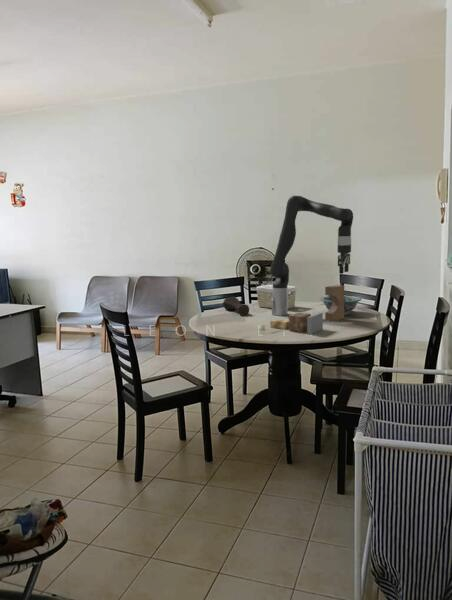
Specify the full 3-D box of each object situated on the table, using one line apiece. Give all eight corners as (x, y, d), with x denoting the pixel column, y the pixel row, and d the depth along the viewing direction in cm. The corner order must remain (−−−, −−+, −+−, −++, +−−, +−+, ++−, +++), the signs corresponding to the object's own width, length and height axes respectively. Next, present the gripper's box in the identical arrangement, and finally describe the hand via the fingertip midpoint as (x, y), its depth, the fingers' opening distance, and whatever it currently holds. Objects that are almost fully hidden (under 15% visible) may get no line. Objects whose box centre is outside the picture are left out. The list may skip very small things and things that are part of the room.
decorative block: (331, 321, 279) (331, 287, 275) (324, 320, 283) (324, 286, 280) (344, 319, 285) (345, 285, 282) (337, 317, 289) (337, 284, 286)
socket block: (289, 330, 258) (288, 315, 257) (297, 326, 266) (297, 312, 265) (302, 331, 254) (302, 317, 252) (310, 328, 262) (310, 313, 260)
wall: (307, 334, 250) (307, 317, 248) (319, 328, 261) (319, 312, 259) (310, 334, 249) (310, 317, 247) (322, 329, 260) (322, 312, 258)
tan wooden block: (270, 327, 269) (270, 320, 268) (274, 326, 272) (273, 319, 271) (286, 329, 263) (286, 322, 262) (289, 328, 266) (289, 321, 266)
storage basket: (297, 307, 331) (297, 285, 329) (284, 310, 319) (284, 288, 317) (269, 304, 347) (268, 283, 344) (255, 307, 334) (255, 286, 332)
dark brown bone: (226, 312, 332) (242, 324, 307) (219, 299, 328) (234, 310, 303) (239, 303, 334) (255, 314, 309) (232, 291, 330) (249, 301, 305)
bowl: (369, 312, 302) (369, 297, 300) (345, 318, 285) (345, 303, 284) (335, 308, 320) (335, 294, 319) (312, 314, 304) (312, 299, 302)
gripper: (342, 243, 280) (341, 271, 283) (333, 244, 268) (333, 273, 271) (354, 243, 276) (354, 271, 279) (346, 245, 264) (346, 274, 267)
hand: (343, 272), depth 275 cm, fingers open, 8 cm apart
